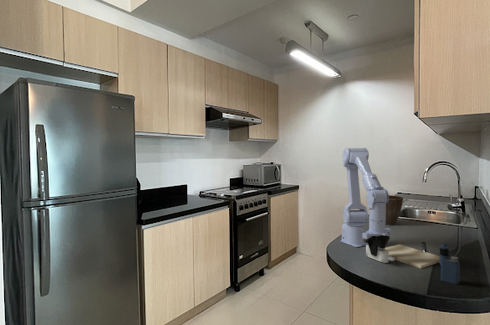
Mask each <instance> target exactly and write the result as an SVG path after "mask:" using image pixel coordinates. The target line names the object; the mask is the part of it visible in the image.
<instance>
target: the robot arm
mask: <svg viewBox="0 0 490 325" xmlns="http://www.w3.org/2000/svg"><path fill="white" fill-rule="evenodd" d="M369 155H370V154H369V150H368V148H367V147H362V148H361V147H360V148H359V147H358V148H357V147H356V148H355V147H353V148H352V147H349V148H348V147H346V148H344V150H343V151H342V164H343V167H344V168H345V169H346V178H347V190H348V201H349V202H348V203H347V204H346V205H345V206H344V207H343V213H342V218H343V222H344V223H343V224H342V226H341V239H340V243H344V244H346V245H349V246H352V247H354V248H358V247H363V246H366V245H369V248H370V252H371V255H374V256H377V252H378V247H379V248H382V249H385V248H386V246H387V243H388V242H389V241H390V239H391V238H390V235H392V229H391V228H388V227H386V225H385V221H386V204H387V203H388V201H389V195H390V194H389V191H388V190H387V189H386V188H385V187H383V186H382V185H381V183H380V181H379V178H378V176H377V174H375V173H373V172H372V169H371V166H370V163H369V161H368V160H369V157H370V156H369ZM359 172H360V173H361V175H362V176H363V177H362V178H361V182H362V184H363V187H364V188H365V190H366V195H365V196H366V198H365V199H366V201H367V207H366V205H364V204H362V203H361V202H362V201H361V190H360V189H361V188H360V178H359ZM367 208H368V209H367ZM368 210H369V211H368ZM368 222H369V223H368ZM367 223H368V230H366V231H365V226H367ZM365 241H366V242H365Z"/></svg>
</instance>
